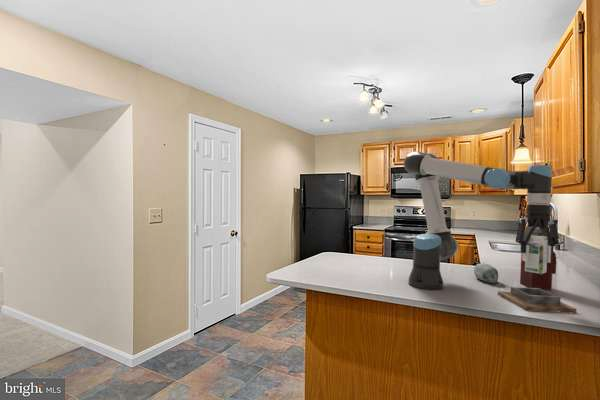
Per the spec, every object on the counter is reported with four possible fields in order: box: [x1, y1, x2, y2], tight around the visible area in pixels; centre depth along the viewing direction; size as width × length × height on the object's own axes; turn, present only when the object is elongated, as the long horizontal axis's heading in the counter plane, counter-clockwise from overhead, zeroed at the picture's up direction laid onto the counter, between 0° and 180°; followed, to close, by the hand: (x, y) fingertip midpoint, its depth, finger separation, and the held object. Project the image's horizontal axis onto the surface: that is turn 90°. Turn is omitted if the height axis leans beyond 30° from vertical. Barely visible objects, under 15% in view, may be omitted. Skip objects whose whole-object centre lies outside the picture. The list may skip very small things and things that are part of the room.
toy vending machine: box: [519, 228, 557, 291], centre depth 146 cm, size 9×11×28 cm
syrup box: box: [525, 234, 548, 274], centre depth 123 cm, size 6×6×14 cm
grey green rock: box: [473, 263, 499, 284], centre depth 156 cm, size 14×10×10 cm
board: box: [497, 286, 577, 314], centre depth 124 cm, size 18×18×4 cm
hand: (536, 261), depth 123 cm, fingers closed on syrup box, 8 cm apart
